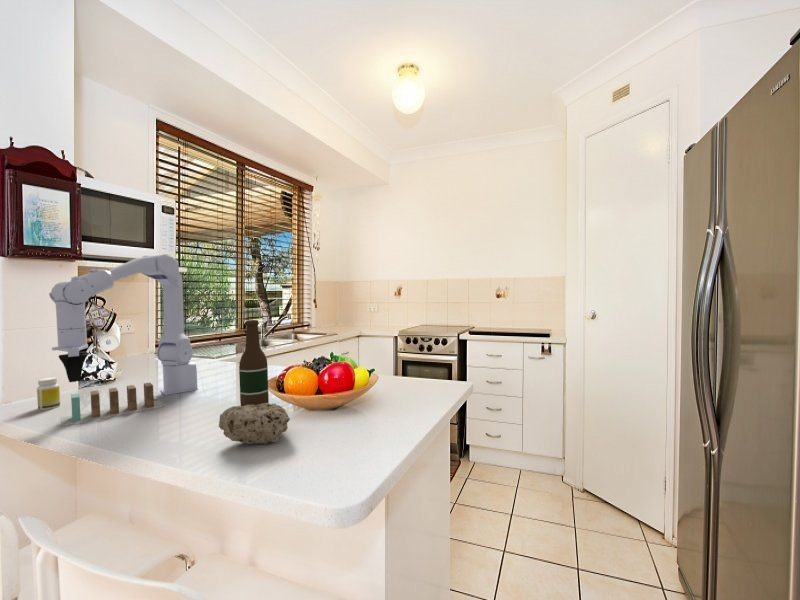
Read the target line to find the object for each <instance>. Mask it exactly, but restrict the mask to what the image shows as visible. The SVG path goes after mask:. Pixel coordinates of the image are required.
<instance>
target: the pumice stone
mask: <svg viewBox="0 0 800 600" xmlns="http://www.w3.org/2000/svg"><path fill="white" fill-rule="evenodd" d="M290 420H291V418H290V417H289V414H288V413H287V411H286V409H285V408H284V407H282V406H281V405H279V404H276V403H270V402H269V403H263V404H258V405H246V406H241V405H236V406H234V405H233V406H231V407H228V408H227V409H224V411H223V412H222V413H221V414H220V415H219V421H218V428H220V430H222V431H223V432H222V433H223V435H224V436H225V438H228V439H229V440H231V441H232V442H240V443H245V444H248V445H252V444H256V445H257V444H258V445H259V444H260V445H261V444H268V443H269V442H270V443H277V442H278V441H279V440H280V437H281V436H282V434H283V433H285V432H287V429H288V423H289V421H290Z"/></svg>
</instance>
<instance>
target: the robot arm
mask: <svg viewBox="0 0 800 600" xmlns="http://www.w3.org/2000/svg"><path fill="white" fill-rule="evenodd" d="M179 266H180V265H179V261H178V260H177V259H176V258H175V257H173V256H172V255H170V254H166V253H164V254H159V255H143V256H142V257H141V256H140V257H137V258H136V257H135V258H133V259H131V260H129V261H126V262H125V263H122V264H120V265H117V266H116V267H114V268H111V269H109V270H107V269H106V270H105V269H103V268H100V269H99V268H91V269H89V270H88V271H89V272H88V273H86V274H83V275H80V276H76V275H75V276H73V277H71V279H70V281H61V282H60V281H59V282H58V283H56V284H54V286H53V287H52V289H51V292H49V293H48V295H49V298H50V299H51V301H52V302H53V303H54V305H55V313H56V314H55V316H56V330H57V332H56V334H57V346H52V347H51V351H59V352H67V353H65V354H59V355H58V358H59V360H60V361H61V363H62V364H63V367H64V369H65V372H66V377H67V380H68V383H77V382H80V381H81V378H82V372H83V367H84V364H85V360H86V359H87V357H88V356H89V355H88V352H87V351H81V350H85V349H87V348H89V344H88V337H87V336H88V335H87V334H88V333H87V322H86V302H87V301H88V300H89V299H90V298H91V297H94V296H96V295H98V294H100V293H102V292H103V293H104V291H107V290H109V289H112V288H113V286H114V284H115V282H117V281H119V280H122V279H124V278H128V277H129V276H133V275H136V274H137V273H138V274H139V273H141V274H143V276H145V277H146V276H147V277H148V278H151V279H153V280H155V281H157V282H158V283H159V284H160V285H161V286H162V293H163V296H162V297H163V299H162V301H163V303H162V305H163V335H162V337H160V339H158V340H159V341H158V347H157V350H156V357H157V359H158V360H159V361H161V365H162V383H163V384H162V385H163V388H161V389H160V390H159V391H160V392H161V393H162V394H163V395H164V396H170V395H174V394H180V393H186V392H192V391H197V390H199V388H198V371H197V370H198V369H197V365H196V363H195V361H191V360H192V358H193V356H194V349H193V346H192V343H191V338H189V337H188V336H187V335H186V334H185V331H184V328H185V327H184V326H185V325H184V291H183V290H184V289H183V286H184V285H183V281H184V280H183V277H182V275H181V272H180V270H179V269H180V267H179Z"/></svg>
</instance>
